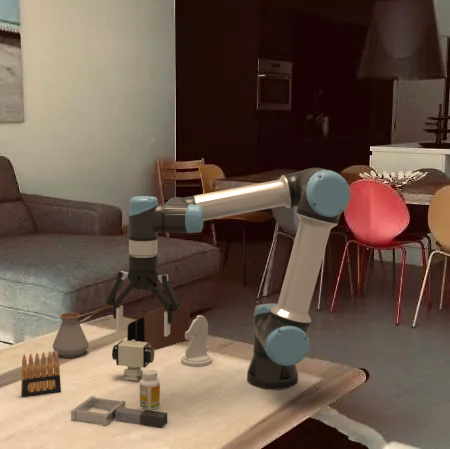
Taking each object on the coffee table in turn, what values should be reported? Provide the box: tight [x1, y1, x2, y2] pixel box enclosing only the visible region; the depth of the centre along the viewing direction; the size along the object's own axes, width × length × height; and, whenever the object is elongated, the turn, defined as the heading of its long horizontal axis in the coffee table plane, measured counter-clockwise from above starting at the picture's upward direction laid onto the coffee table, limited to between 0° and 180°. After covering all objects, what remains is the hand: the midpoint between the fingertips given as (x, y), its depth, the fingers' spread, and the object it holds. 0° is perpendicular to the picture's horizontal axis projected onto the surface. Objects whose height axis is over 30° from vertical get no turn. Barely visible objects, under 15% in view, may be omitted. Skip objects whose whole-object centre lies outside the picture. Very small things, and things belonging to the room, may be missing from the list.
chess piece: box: [180, 314, 213, 368], centre depth 238 cm, size 10×10×15 cm
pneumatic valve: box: [111, 340, 156, 382], centre depth 222 cm, size 6×12×12 cm, turn 78°
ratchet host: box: [70, 395, 168, 429], centre depth 194 cm, size 24×11×3 cm, turn 72°
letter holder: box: [126, 303, 190, 351], centre depth 257 cm, size 10×20×14 cm, turn 135°
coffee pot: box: [52, 304, 113, 358], centre depth 247 cm, size 21×12×15 cm, turn 124°
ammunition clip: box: [20, 351, 62, 398], centre depth 209 cm, size 11×2×12 cm, turn 114°
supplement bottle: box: [139, 369, 161, 411], centre depth 202 cm, size 5×5×10 cm
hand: (143, 332), depth 202 cm, fingers open, 13 cm apart
